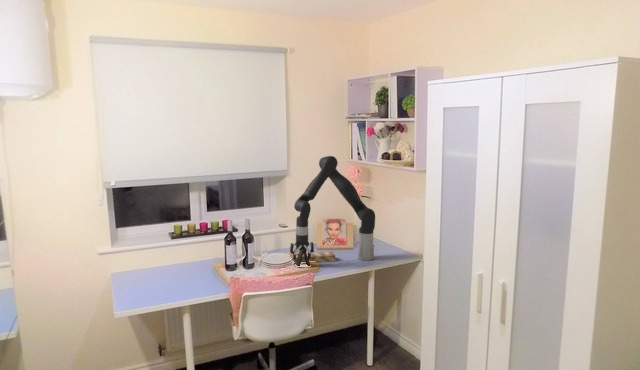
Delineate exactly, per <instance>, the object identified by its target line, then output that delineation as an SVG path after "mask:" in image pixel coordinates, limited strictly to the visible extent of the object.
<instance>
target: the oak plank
mask: <svg viewBox="0 0 640 370" xmlns="http://www.w3.org/2000/svg"><path fill="white" fill-rule="evenodd" d="M306 253H307V256H308V252H306ZM298 254H299V253H296V259H297V256H298ZM289 255H290V257H291V258H292V260H293V261H294V262H296V261H295V260H294V259H293V254H291V253H289ZM309 261H316V262H317V263H329V262H330V263H332V262H336V254H335V253H333V252H332V251H327V252H326V251H324V252H323V251H322V252H312V253H311V258H310V259H309ZM301 262H305V258H304V255H303V257H302V260H301Z"/></svg>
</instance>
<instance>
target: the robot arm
mask: <svg viewBox="0 0 640 370" xmlns="http://www.w3.org/2000/svg"><path fill="white" fill-rule="evenodd" d="M338 163H339V162H338V159H337V158H336V157H335V156H333V155H329V156H328V155H326V156H324V157H321V158H320V159H319V161H318V166H319V168H320V171H319V172H318V173H317V175H316V176H314V178H313V179H312V180H311V182H310V183H309V184H308V186H307V187H306V189H305V190H304V192H303V193H302V194H301V195H300V196H299V197H298V198H297V199H296V201H295V203H294V209H295V211H297V212H299V216H297V217H296V220H295V221H296V228H295V243H293V242H291V243H290V245H289V254H293V259H294V260H295V261H296V254H298V253H299V250H301V248H303V250H305V248H306V250H307V251H306V252H307V253H308V259H310V258H311V253H315V248H314V247H315V246H314V244H315V243H314V242H313V241H310V242H309V233H310V232H309V218H310V215H311V214H310V213H311V204H310V203H309V202H310V201H313V200H314V199H315V198H316V196H317V195H318V193H319V191H320V189H321V188H322V186H323V185H324V183H325V182H326V181H327V179H328V178H329V180H330V181H331V183H333V185H334V186H335V187H336V189H337V190H338V192H339V193H340V194H341V196H342V197H343V198H344V199H345V201H347V203H348V204H349V206H351V208H352V210H353V211H354V212H355V214H356V216H357V217H358V219H359V220H360V221H361V223H360V227H359V228H358V254H357V255H358V256H357V257H358V258H357V259H359V260H361V261H371V260H374V259H375V244H374V230H375V227H376V226H375V225H376V213H375V211H374V209H372V208H369V207H368V206H367V205H366V204H365V203H364V202H363V201H362V200H361V198H360V195H359V193H358V191H357V189H356V187H355V186H354V185H353V184H352V182H351V181H350V180H349V179H348V178H347V177H345V176H344V175H343V174H341V173H340V172H339V171H338V169H337V167H338ZM309 246H310V249H309V248H308V247H309Z"/></svg>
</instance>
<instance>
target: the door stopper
mask: <svg viewBox="0 0 640 370" xmlns="http://www.w3.org/2000/svg"><path fill="white" fill-rule="evenodd" d="M307 253H308V251H307V250H306V248H305V250H303V248H301V250H299V251H298V253H297V254H298V256H297V259H296V262H295V264H296V265H297V266H300V264H301V260H302V257H303V255H304V258H305V262H306V263H305V264H307V265H308V266H310V265H311V263H310V262H309V259H308V256H307ZM295 264H294V265H295Z"/></svg>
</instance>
